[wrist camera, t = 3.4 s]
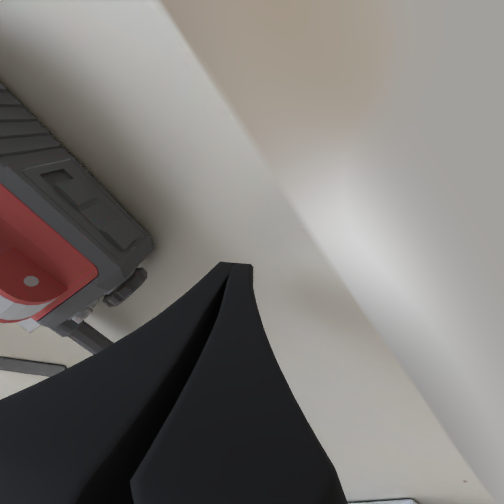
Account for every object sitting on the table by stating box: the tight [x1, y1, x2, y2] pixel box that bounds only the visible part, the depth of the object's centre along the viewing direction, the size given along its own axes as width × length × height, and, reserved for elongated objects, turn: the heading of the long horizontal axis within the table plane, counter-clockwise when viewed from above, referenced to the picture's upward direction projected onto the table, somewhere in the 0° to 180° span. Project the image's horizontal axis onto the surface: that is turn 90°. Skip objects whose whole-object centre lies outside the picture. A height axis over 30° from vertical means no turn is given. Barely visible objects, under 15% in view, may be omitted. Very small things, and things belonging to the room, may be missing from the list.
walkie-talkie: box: [0, 83, 154, 354], centre depth 10 cm, size 9×4×20 cm
